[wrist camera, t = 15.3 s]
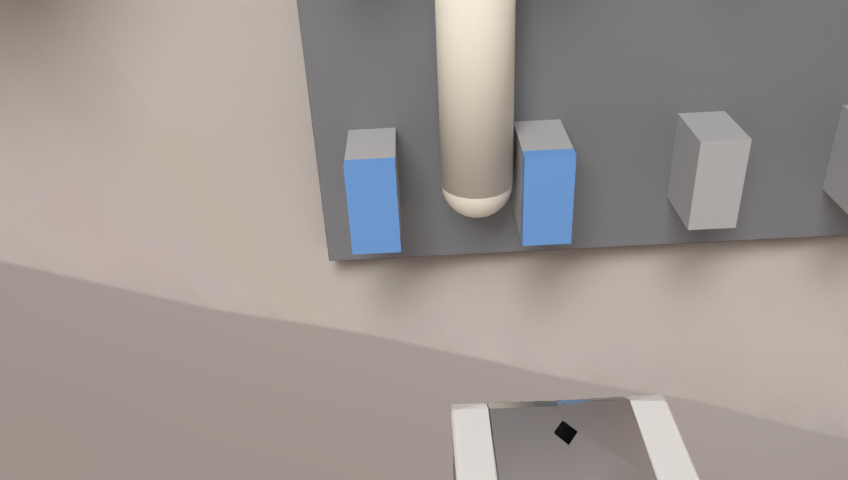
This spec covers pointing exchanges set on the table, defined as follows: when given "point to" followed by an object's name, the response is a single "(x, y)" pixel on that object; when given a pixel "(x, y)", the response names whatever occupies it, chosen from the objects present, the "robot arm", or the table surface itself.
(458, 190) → the white capsule
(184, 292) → the table surface
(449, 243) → the grey peg board
